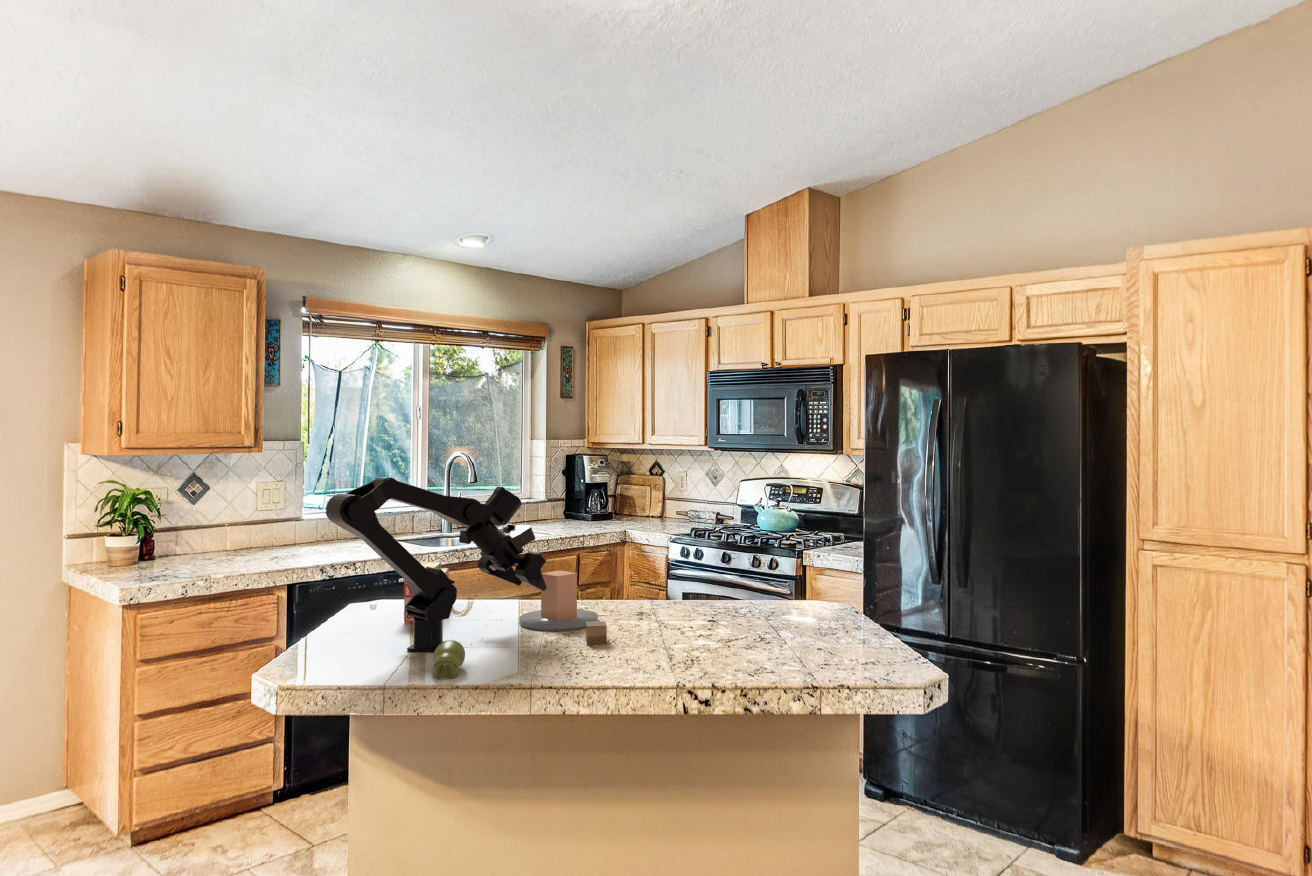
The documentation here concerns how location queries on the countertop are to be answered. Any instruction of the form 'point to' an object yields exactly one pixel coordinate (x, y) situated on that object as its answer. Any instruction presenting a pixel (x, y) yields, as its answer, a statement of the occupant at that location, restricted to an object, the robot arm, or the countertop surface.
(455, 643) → the green rounded piece
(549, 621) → the slate plate
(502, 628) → the countertop surface
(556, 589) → the tall clay pillar
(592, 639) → the walnut block
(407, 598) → the stack of blocks
